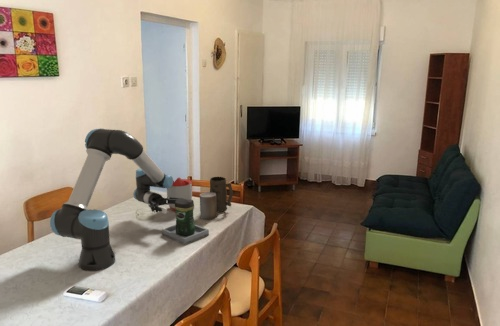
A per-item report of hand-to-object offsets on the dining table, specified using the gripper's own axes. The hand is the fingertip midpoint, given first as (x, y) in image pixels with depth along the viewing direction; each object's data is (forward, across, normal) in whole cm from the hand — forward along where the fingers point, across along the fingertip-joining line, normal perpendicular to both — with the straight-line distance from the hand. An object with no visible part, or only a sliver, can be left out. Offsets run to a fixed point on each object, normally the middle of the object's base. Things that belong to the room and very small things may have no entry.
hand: (177, 208), depth 209 cm
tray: (+7, 0, -13) cm, 15 cm away
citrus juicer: (-28, -24, -13) cm, 39 cm away
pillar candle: (-4, -26, -13) cm, 29 cm away
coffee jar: (+7, 0, -12) cm, 14 cm away
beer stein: (-8, -40, -13) cm, 43 cm away
